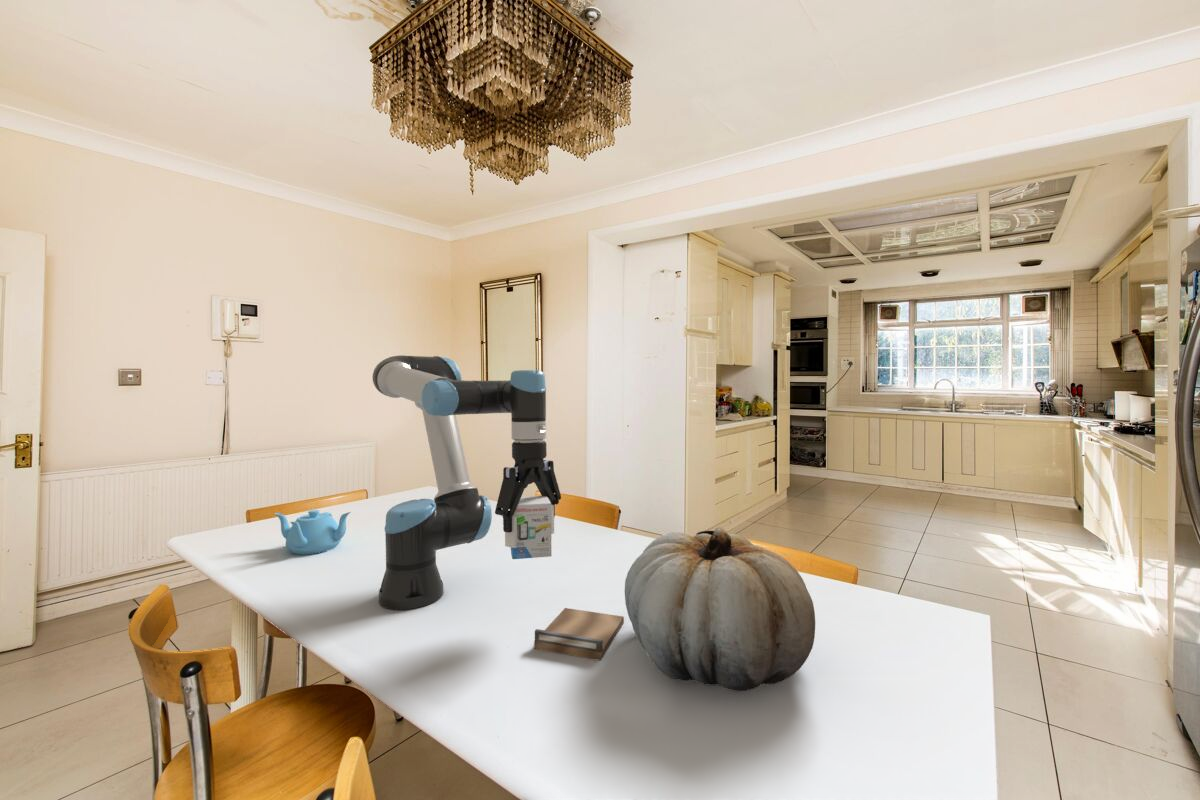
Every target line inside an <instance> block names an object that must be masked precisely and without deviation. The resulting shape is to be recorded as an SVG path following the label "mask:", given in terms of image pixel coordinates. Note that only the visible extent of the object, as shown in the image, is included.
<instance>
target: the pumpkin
mask: <svg viewBox="0 0 1200 800" xmlns="http://www.w3.org/2000/svg"><path fill="white" fill-rule="evenodd" d="M713 531H714V532H713V534H712V535H710V534H705V533H702V534H699V535H696V534H695V535H694V536H692V535H689V534H687V533H684V532H677V531H674V532H667V533H665V534H662V535H660V536H659V537H657V538H655V539H654V540H653V539H652V542H650V543H649V544H648V545H647V546H646V547H645V548H644V550H643V551H642V553H641V554H640V555H639V556H638V557H637V558H636V559H635V561H634V562H633V563H632V564H631V566H630V568H629V570H628V572H627V575H626V577H625V580H624V600H625V603H624V604H625V607H626V611H627V615H628V619H629V622H631V626H632V630H633V632H634V635H635V636H636V638H637V640H638V642H639V644H640V646H641V647H642V648H643V650H644V651H645V652H646V655H647V656H648V658H649V659H650V661H651V662H652V664H653V665H654V666H655V668H656V669H657V670H659V671H660V672H661V673H662V674H664V676H666V677H668V678H671V679H674V680H676V681H684V682H685V681H688V682H689V681H695V682H698V683H699V684H701V685H706V686H715V685H716V686H717V685H718V686H720V687H722V688H724V689H726V690H729V691H737V692H743V691H744V692H746V691H750V690H755V689H756V688H758V687H760V686H761V685H774V684H777V683H782V682H783V681H785V680H787V679H789V678H790V677H792V676H793V675H795V673H797V672H798V671H799V670H800V669H801V668H802V667H803V665H805V662H806V661H807V660H808V658H809V656H810V654H811V651H812V649H813V646H814V642H815V638H816V637H815V635H816V634H815V633H816V613H815V607H814V602H813V599H812V596H811V594H810V592H809V590H808V588H807V586H806V583H805V581H804V579H803V578H802V576H801V575H800V573H799V571H797V569H796V567H794V566H793V565H792V564H791V563H790V561H788V560H787V559H786V558H784V557H783V556H782V555H780V554H778V553H776V552H774V551H771V550H770V549H766V548H764V547H762V546H759V545H755V544H753V543H752V542H751V541H750V540H749V539H747V538H746V537H744V536H742V535H739V534H736V533H728V532H727V531H726V530H725V529H724V528H723V527H717V528H715V529H714V530H713Z"/></svg>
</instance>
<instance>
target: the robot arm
mask: <svg viewBox="0 0 1200 800" xmlns="http://www.w3.org/2000/svg"><path fill="white" fill-rule="evenodd" d="M372 384H373V385H374V387H375V388H376V390H377V391H378V392H379V393H381V394H382V395H384V396H386V397H389V398H391V399H392V398H393V399H396V398H398V399H399V398H404V399H406V400H409V401H411V402H414V404H415V407H416V408H419V409H420V410H421V411H422V415H423V421H424V426H425V430H426V435H427V441H428V447H429V451H430V455H431V460H432V465H433V472H434V476H435V482H436V485H437V486H436V487H437V490H438V491H437V493H436V494H435V496H434V497H433V499H430V498H420V499H412V500H407V501H404V502H400V503H398V504H396V505H394V506H392V507H391V508H390V509H388V511H386V515H385V525H384V532H385V533H384V534H385V535H384V536H385V572H384V575H383V578H382V581H381V584H380V588H379V590H378V605H380V606H381V607H383V608H385V609H388V610H389V609H390V610H398V611H399V610H402V611H403V610H410V609H411V610H412V609H418V608H421V607H425V606H428V605H431V604H432V603H435V602H436V601H439V600H440V599H441V598H442V597H443V595H444V583H443V580H442V578H441V574H440V572H439V568H438V566H437V555H436V554H437V551H438V550H443V549H446V548H451V547H455V546H459V545H464V544H471V543H473V542H476V541H479V540H482V539H483V538H485V537H486V536H487V535H488V533H489V531H490V529H491V528H490V527H491V525H492V517H493V516H492V515H493V513H492V512H493V511H492V506H491V502H490V501H489V500H488V497H486V496H485V495H479V494H480V493H479V490H478V487H477V486H475V485H473V484H472V483H471V479H470V474H469V470H468V466H467V461H466V457H465V451H464V447H463V443H462V438H461V434H460V430H459V429H460V428H459V425H458V420H457V415H460V416H461V415H463V416H464V415H480V414H481V415H482V414H483V415H484V414H486V415H487V414H511V421H510V422H511V439H512V440H513V442H512V443H511V458H512V459H513V460H514V465H513V467H509V466H507V467H506V466H504V467H503V470H502V471H503V473H502V474H503V476H502V477H503V479H502V482H501V486H500V491H499V494H498V498H497V501H496V502H497V503H496V506H495V510H494V514H495V515H497V516H502V525H503V526H502V529H503V532H504V543H505V544H504V545H505V547H508V548H510V549H511V548H517V516H513V515H514V513H515V510H516V508H517V506H518V503H519V501H520V498H521V497H523V496H522V495H523V493H524V491H525V489H526V488H528V485H531V484H533V483H534V485H535V486H536V487H537V489H538V491H539V494H540V496H547V497H548V498H549V500H550V502H551V535H553V534H555V516H556V510H555V509H556V505H559V502H560V500H561V498H562V495H561V491H560V487H559V485H558V480H557V478H556V474H555V470H554V469H555V467H554V460H549V459H548V460H547V459H545V458H547V442H546V441H545V439H547V430H546V429H547V428H546V427H547V425H546V424H547V423H546V420H547V408H546V407H547V406H546V405H547V399H546V397H547V387H546V378H545V373H544V372H543V371H542V370H537V369H534V370H533V369H529V370H528V369H525V370H524V369H522V370H521V369H520V370H514V371H512V372H511V373H510V379H509V380H463V378H462V373H461V370H460V368H459V366H458V365H457V363H456V361H454V360H453V359H451V358H448V357H441V356H437V355H434V356H423V355H421V356H419V355H394V356H389V357H387V358H384V359H382V360H381V361H380V362H379V363H378V364H376V366H375V368H374V370H373V372H372Z"/></svg>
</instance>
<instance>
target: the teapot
mask: <svg viewBox="0 0 1200 800" xmlns="http://www.w3.org/2000/svg"><path fill="white" fill-rule="evenodd" d="M307 513H308V514H305V515H302V516H299V517H298V518H296V519H295V521H290V522H288V519H287V517H286V515H285V514H284V513H279V512H274V513H273V514H274V515H275V516H276V517H277V518H278V519H279V522H280V532H281V535H282V537H283V538H284V539H285V548H286V549H287V550H288V551H289V552H290V553H291V554H293V553H294V555H299V554H307V555H314V554H313V553H316V554H320V553H319V552H321V553H325V552H328V551H327V550H329V551H331V550H334V549H335V548H336V547H337V546H338V545H339V544H340V543H341V541H342V538H343V537H344V536H345V534H346V531H347V517H348V516H349V514H350V513H352V512H351V511H350V512H346V513H342V515H340V517H339V521H338V522H337V521H336V520H335V518H334V517H333V515H332V513H330V512H326V511H324V512H322V513H320V510H319V509H313V510H308V511H307ZM289 523H290V524H291V526H290V524H289ZM330 549H331V550H330ZM324 551H325V552H324Z"/></svg>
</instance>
